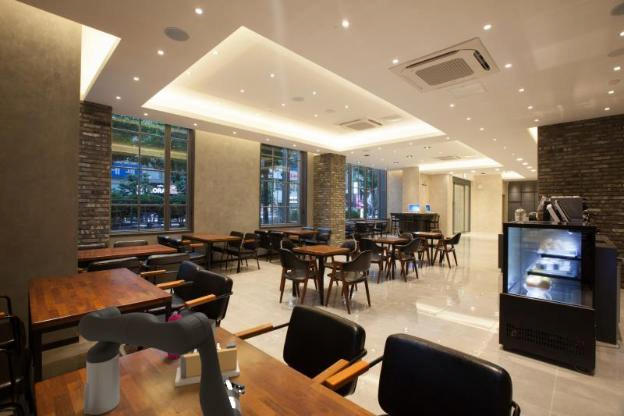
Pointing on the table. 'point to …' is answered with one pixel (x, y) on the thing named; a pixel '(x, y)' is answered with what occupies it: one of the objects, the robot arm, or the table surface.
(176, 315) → the pepper mill
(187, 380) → the white grey slotted rack
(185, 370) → the leaning tan board
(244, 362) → the table surface
